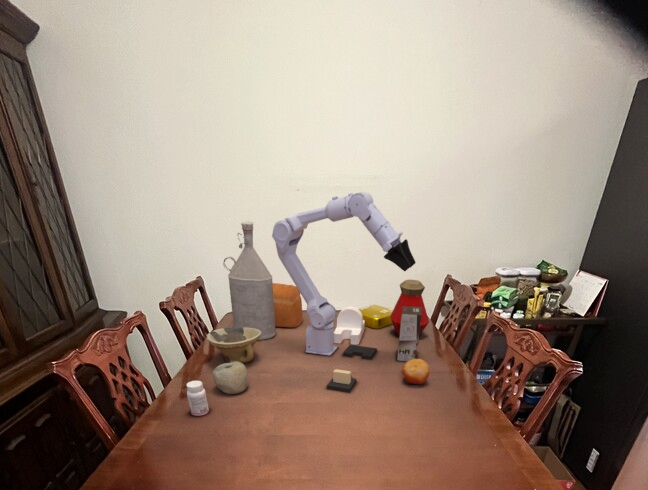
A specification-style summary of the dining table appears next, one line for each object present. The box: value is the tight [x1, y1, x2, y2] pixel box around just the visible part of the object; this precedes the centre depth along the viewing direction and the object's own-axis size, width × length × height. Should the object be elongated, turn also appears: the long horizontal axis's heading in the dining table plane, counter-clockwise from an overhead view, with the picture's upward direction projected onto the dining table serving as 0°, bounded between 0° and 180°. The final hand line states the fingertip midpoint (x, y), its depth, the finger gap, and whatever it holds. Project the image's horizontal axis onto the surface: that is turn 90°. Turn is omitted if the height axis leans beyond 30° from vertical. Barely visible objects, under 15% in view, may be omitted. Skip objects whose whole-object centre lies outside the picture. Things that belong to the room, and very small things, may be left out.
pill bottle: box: [186, 380, 210, 417], centre depth 109 cm, size 5×5×8 cm
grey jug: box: [222, 220, 277, 341], centre depth 151 cm, size 13×17×40 cm
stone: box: [211, 362, 249, 395], centre depth 121 cm, size 10×10×10 cm
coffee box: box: [396, 306, 422, 362], centre depth 139 cm, size 9×6×16 cm
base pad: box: [342, 344, 378, 360], centre depth 146 cm, size 10×8×1 cm
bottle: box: [390, 279, 430, 337], centre depth 157 cm, size 16×14×20 cm
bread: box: [273, 282, 303, 328], centre depth 170 cm, size 14×26×16 cm, turn 79°
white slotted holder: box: [334, 305, 365, 346], centre depth 158 cm, size 10×18×11 cm, turn 169°
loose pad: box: [326, 368, 358, 393], centre depth 124 cm, size 7×9×5 cm
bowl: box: [206, 326, 261, 364], centre depth 139 cm, size 18×18×10 cm
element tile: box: [357, 304, 394, 330], centre depth 174 cm, size 15×15×5 cm
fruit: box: [401, 358, 430, 385], centre depth 126 cm, size 8×8×8 cm
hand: (410, 267), depth 122 cm, fingers open, 7 cm apart
